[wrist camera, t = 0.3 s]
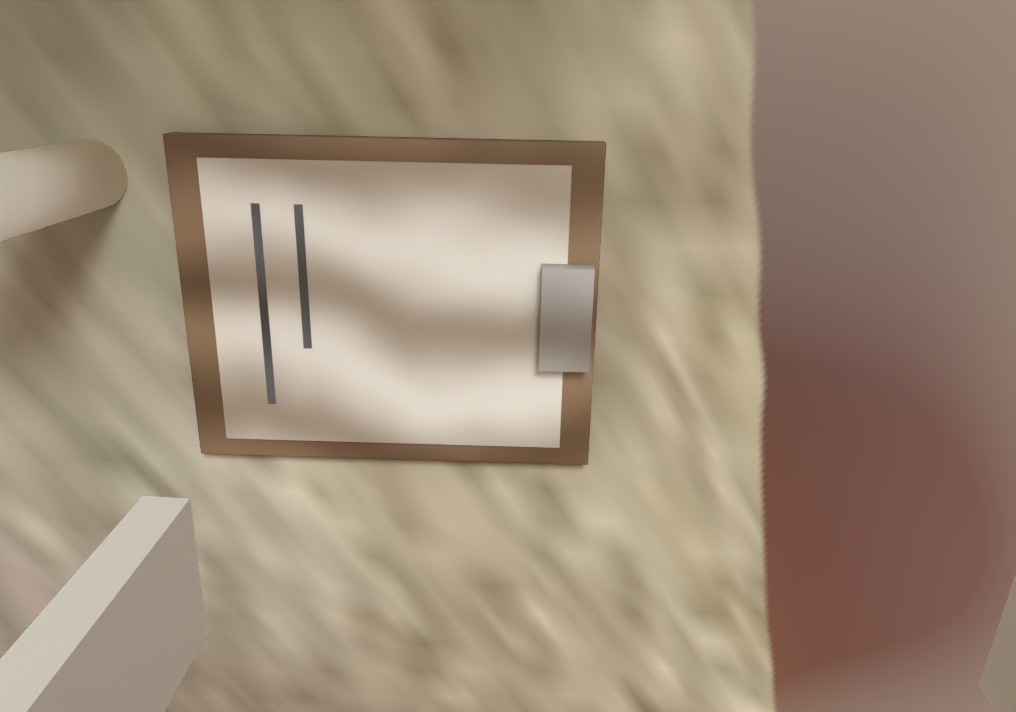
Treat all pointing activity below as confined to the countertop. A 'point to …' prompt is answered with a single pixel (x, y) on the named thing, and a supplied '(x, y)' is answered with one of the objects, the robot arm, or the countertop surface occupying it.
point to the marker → (57, 184)
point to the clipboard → (389, 294)
